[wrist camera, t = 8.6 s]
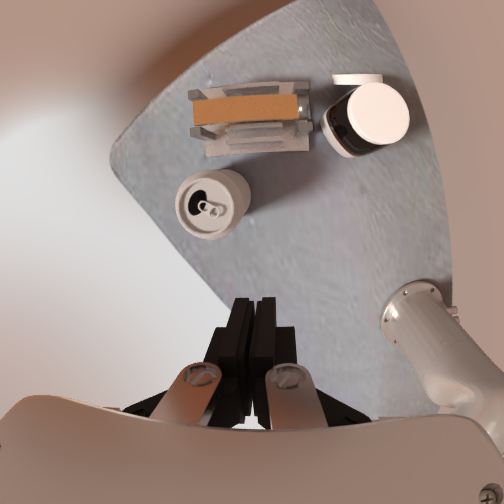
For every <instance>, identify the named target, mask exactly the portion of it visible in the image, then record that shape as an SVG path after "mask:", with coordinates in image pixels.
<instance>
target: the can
mask: <svg viewBox="0 0 504 504" xmlns="http://www.w3.org/2000/svg"><path fill="white" fill-rule="evenodd" d="M250 201H251V190H250V187H249V184H248V183H247V181H246V180H245V178H244V177H243V176H241V175H240V174H239V173H237V172H235V171H232V170H229V169H219V170H208V171H201V172H198V173H196V174H193V175H191V176H190V177H189V178H188V179H186V180H185V181H184V182H183V184H182V185H181V187H180V188H179V190H178V193H177V196H176V200H175V202H176V213H177V216H178V218H179V221H180V222H181V224H182V225H183V227H184V228H185V229H186V230H187V231H188V232H190V233H191V234H193V235H194V236H197V237H200V238H202V239H217V238H220V237H224V236H225V235H227V234H228V233H230V232H231V231H233V229H234V228H235V227H236V225H237V224H238V223H239V221H240V220H241V218H242V217H243V215H244V214H245V212H246V211H247V209H248V207H249V204H250Z"/></svg>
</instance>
